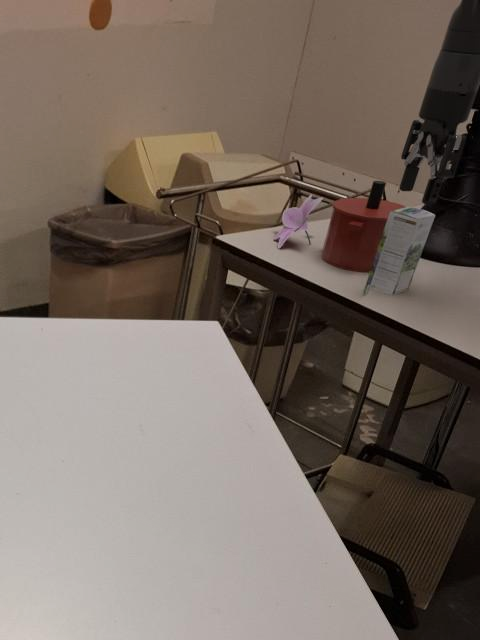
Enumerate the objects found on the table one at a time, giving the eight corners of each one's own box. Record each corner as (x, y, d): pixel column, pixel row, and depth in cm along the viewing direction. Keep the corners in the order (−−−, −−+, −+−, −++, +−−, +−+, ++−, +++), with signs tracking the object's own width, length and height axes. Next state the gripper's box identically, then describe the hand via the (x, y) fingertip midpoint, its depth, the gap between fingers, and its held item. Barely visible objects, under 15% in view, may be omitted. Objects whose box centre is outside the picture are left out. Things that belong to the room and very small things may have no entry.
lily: (281, 237, 185) (270, 197, 178) (336, 223, 178) (328, 181, 171) (270, 270, 179) (259, 229, 173) (327, 257, 172) (318, 214, 166)
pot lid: (419, 212, 166) (429, 181, 162) (397, 228, 156) (408, 196, 153) (345, 199, 172) (353, 169, 168) (320, 214, 163) (328, 182, 159)
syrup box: (378, 288, 157) (405, 204, 148) (407, 297, 154) (436, 212, 144) (362, 294, 155) (388, 209, 145) (390, 303, 151) (419, 217, 142)
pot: (404, 256, 173) (420, 207, 167) (376, 280, 161) (393, 227, 155) (338, 243, 179) (352, 195, 173) (306, 265, 167) (320, 213, 161)
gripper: (410, 78, 137) (378, 186, 148) (453, 92, 127) (414, 208, 138) (453, 79, 138) (417, 187, 149) (499, 93, 127) (457, 208, 138)
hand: (416, 197), depth 143 cm, fingers open, 8 cm apart
